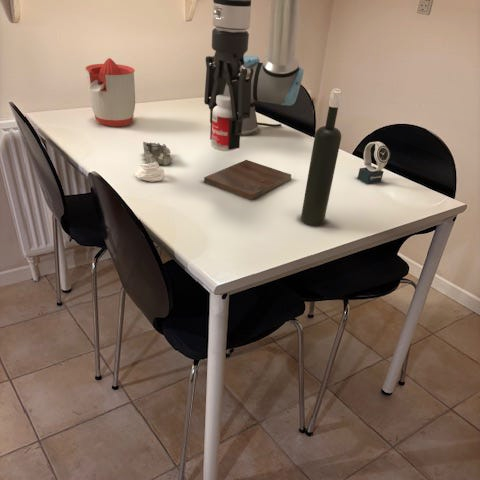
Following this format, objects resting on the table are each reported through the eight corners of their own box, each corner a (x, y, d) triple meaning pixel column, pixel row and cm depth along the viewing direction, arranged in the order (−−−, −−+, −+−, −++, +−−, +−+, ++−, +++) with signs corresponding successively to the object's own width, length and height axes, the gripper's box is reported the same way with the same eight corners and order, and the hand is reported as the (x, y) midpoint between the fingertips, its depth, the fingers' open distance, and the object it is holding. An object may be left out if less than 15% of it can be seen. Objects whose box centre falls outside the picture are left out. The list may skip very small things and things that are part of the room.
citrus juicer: (78, 124, 162) (70, 58, 149) (108, 113, 175) (103, 51, 162) (118, 133, 158) (112, 66, 145) (145, 121, 170) (143, 58, 158)
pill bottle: (205, 146, 111) (207, 95, 104) (223, 141, 115) (225, 91, 108) (225, 154, 108) (228, 102, 102) (242, 148, 112) (246, 98, 105)
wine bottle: (311, 213, 121) (335, 84, 102) (328, 222, 118) (356, 90, 99) (295, 218, 118) (317, 86, 99) (313, 228, 114) (338, 93, 96)
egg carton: (171, 166, 139) (171, 152, 136) (145, 166, 137) (144, 152, 135) (167, 153, 147) (167, 139, 144) (142, 153, 145) (142, 139, 143)
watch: (371, 186, 138) (380, 148, 131) (353, 176, 144) (362, 139, 137) (385, 184, 141) (396, 146, 134) (367, 174, 146) (376, 137, 139)
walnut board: (245, 164, 144) (246, 159, 143) (290, 179, 138) (291, 174, 137) (203, 182, 131) (204, 177, 130) (251, 200, 124) (252, 194, 123)
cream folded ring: (138, 186, 128) (136, 169, 124) (132, 174, 132) (130, 158, 129) (167, 182, 130) (166, 165, 127) (160, 170, 134) (159, 154, 131)
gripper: (188, 21, 100) (187, 133, 115) (246, 38, 89) (237, 159, 104) (217, 21, 104) (213, 129, 119) (276, 36, 93) (263, 154, 108)
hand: (224, 143), depth 111 cm, fingers closed on pill bottle, 6 cm apart
